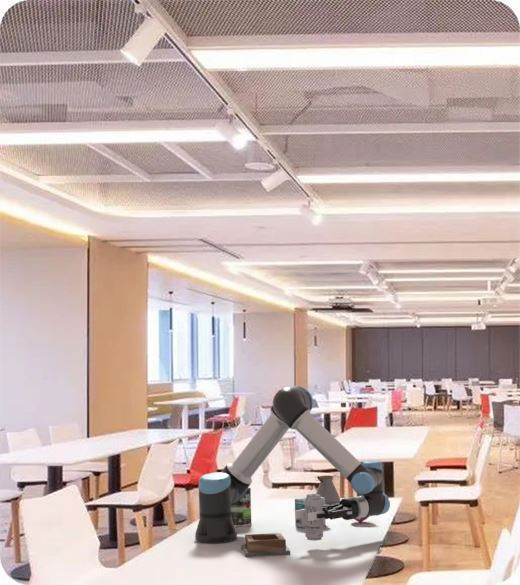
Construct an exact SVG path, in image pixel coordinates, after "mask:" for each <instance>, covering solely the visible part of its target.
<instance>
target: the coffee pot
mask: <svg viewBox="0 0 520 585" xmlns="http://www.w3.org/2000/svg"><path fill="white" fill-rule="evenodd" d="M334 477H335V476H334V475H319V476H316V477H314V479H315V482H317V481H319V485H318V487H317V491H316V492H315V494H320V495H321V497H325V505H326V504H329V505H333V504H339V502H340V501H341V497H340V496H339V493H338V491H337V488H336V487H335V485H334V482H333V479H334ZM316 478H317V480H316Z"/></svg>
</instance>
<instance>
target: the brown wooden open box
mask: <svg viewBox="0 0 520 585" xmlns="http://www.w3.org/2000/svg"><path fill="white" fill-rule="evenodd" d="M286 541H287V539H286V538H285V537H284V536H283V534H282V533H281V532H273V533H252V534H244V543H241V544H240V545H241V546H240V548H241V550H242V552H243V554H244V555H245V557H246V558H248V557H249V558H251V557H252V558H253V557H268V556H269V557H270V556H283V555H284V556H285V555H287V556H288V555H291V550H290V549H289V547H288V546H287V542H286Z"/></svg>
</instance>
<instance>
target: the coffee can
mask: <svg viewBox="0 0 520 585" xmlns="http://www.w3.org/2000/svg"><path fill="white" fill-rule="evenodd" d="M251 490H252V489H251V487H248V488H247V491H246V494H245V495H244V497H243V498H242V499H241V500H240V501H238V502H236V503H233V504H231V517H232V521H233V524H234V526H235V528H242V527H243V528H244V527H248V526H251V525H252V498H251V496H252V494H251V492H252V491H251Z"/></svg>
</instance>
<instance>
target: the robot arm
mask: <svg viewBox="0 0 520 585" xmlns="http://www.w3.org/2000/svg"><path fill="white" fill-rule="evenodd" d="M313 405H314V397H313V395H312V393H311V392H310V391H309V390H308V389H307V388H305V387H303V386H300V385H293V386H289V387H288V386H287V387H284V388H280V390H278V391H277V392H276V393H275V394H274V396H273V400H272V406H271V407H270V415H269V416H268V417H267V419H266V420H265V421H264V423H263V424H262V426H261V427H260V428H259V429H258V430H257V432H256V433H255V434H254V436H253V437H252V438H251V439H250V440H249V442H248V443H247V445H246V446H245V447H244V449H243V450H242V451H241V452H240V453H239V455H238V456H237V458H236V459H235V460H234V461H233V462H228V463H226V465H225V466H224V467H223V469H222V470H221V471H220V472H219V471H216V472H210V473H206V474H203V475H201V476H200V477H199V479H198V487H197V488H198V507H199V510H198V511H199V520H198V523H197V527H196V530H195V534H194V539H195V542H199V543H203V544H221V543H222V544H223V543H228V542H234V541H235V540H237V538H238V536H237V535H238V534H237V530H236V527H235V526H234V524H233V521H232V517H231V504H233V503H236V502H238V501H240V500H241V499H242V498H243V497H244V495H245V494H246V491H247V488H250V486H251V484H252V483H253V480H252V477H253V475H254V474H255V473H256V472H257V470H258V469H259V468H260V466H261V465H262V464H263V463H264V461H266V459H267V458H268V457H269V455H270V454H271V453H272V451H273V450H274V448H275V447H276V446H277V445H278V444H279V442H281V439H282V438H283V437H284V435H286V433H287V432H288V430H289V429H291V430H295V431H297V432H298V434H299V435H301V436H302V437H303V438H304V439H305V440H306V441H307V442H308V443H309V444H310V445H311V446H312V447H313V448H314V449H315V450H316V451H317V452H318V453H319V454H320V455H321V456H322V457H323V458H325V459H326V461H328V462H329V463H330V465H332V466H333V467H334V468H335V470H337V471H338V472H339V473H340V474H341V475H342V476H343V477H344V478H345V479H346V480H347V481H348V482H349V483H350V484H351V488H352V490H353V491H354V493H356V494H359V495H358V496H351V497H344V498H342V499H340V502H339V503H338V504H333V505H329V504H326V505H322V507H323V511H317V512H310V513H308V521H314V520H320V519H324V518H325V520H328V519H329V520H336V519H341V518H342V519H343V520H344V521H349V520H354V519H355V518H358V520H359V519H360V518H361V517H368V516H369V517H374V516H380V515H381V516H382V515H384V514H387V512H388V511H389V510H390V506H391V501H390V499H389V496H388V495H387V493H386V494H385V493H384V489H383V487H384V483H383V479H384V478H383V473H384V469H383V463H382V462H381V461H379V460H365V461H363V462H360V461H359V460H358V459H357V458H356V457H355V456H354V454H352V453H351V452H350V451H349V450H348V449H347V448H346V447H345V446H344V445H343V444H342V443H341V442H340V441H339V440H337V439H336V437H335V436H334V435H332V433H330V431H328V430H327V429H326V428H325V427H324V425H322V424H321V423H320V421H318V420H317V419H316V418H315V417H314V416H313V415H312V414H311V411H312V410H313ZM304 517H305V509H301V510H295V509H294V519H295V518H296V519H298V518H304ZM369 517H368V518H369Z"/></svg>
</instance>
